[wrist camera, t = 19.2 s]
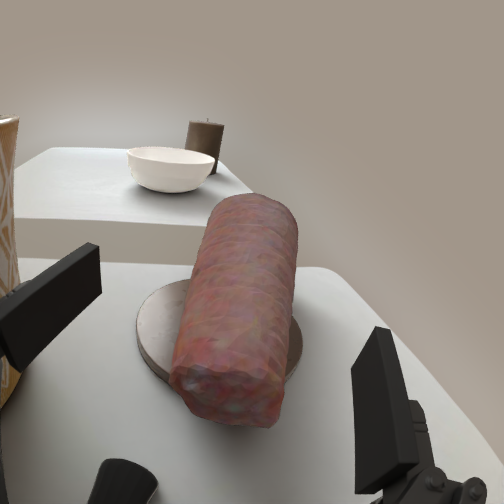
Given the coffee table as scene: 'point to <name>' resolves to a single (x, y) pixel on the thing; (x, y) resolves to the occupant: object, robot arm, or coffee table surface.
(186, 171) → the bowl
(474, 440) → the coffee table surface
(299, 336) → the cake board
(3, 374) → the planter
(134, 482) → the kitchen cleaver
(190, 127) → the pillar candle
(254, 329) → the food
